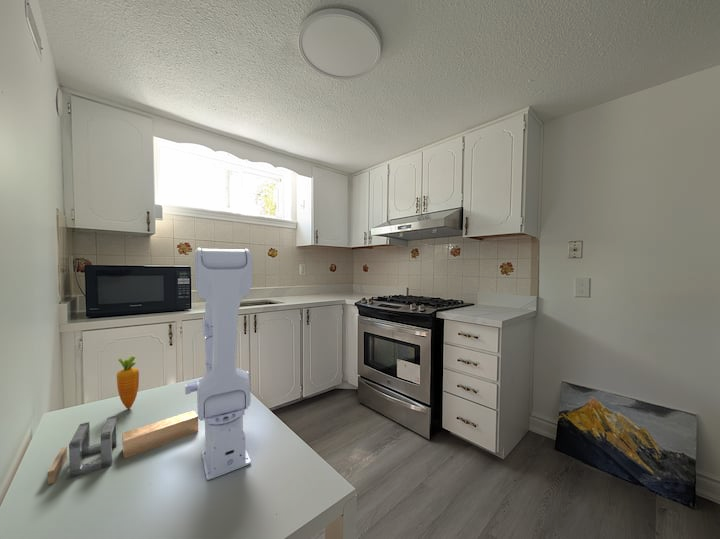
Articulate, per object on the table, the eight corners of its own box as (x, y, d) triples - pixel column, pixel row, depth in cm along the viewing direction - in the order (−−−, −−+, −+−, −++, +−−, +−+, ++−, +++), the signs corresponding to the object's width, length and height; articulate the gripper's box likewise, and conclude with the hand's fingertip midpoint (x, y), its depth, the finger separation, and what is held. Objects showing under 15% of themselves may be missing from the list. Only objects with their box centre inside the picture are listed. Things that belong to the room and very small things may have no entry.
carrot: (112, 411, 79) (111, 358, 78) (131, 403, 84) (130, 352, 83) (125, 414, 77) (124, 359, 77) (144, 405, 82) (142, 354, 82)
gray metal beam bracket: (111, 465, 58) (110, 433, 58) (66, 479, 54) (65, 445, 54) (117, 443, 65) (116, 415, 65) (77, 454, 61) (76, 425, 61)
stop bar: (54, 482, 53) (53, 470, 53) (48, 484, 53) (47, 472, 53) (67, 457, 60) (66, 446, 60) (61, 459, 60) (61, 448, 60)
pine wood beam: (198, 432, 69) (197, 416, 69) (124, 459, 60) (123, 441, 60) (194, 425, 72) (193, 410, 72) (122, 450, 63) (122, 433, 63)
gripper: (244, 351, 80) (245, 399, 80) (183, 362, 72) (185, 415, 72) (250, 358, 74) (251, 410, 74) (185, 371, 66) (186, 428, 66)
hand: (219, 413), depth 73 cm, fingers closed
